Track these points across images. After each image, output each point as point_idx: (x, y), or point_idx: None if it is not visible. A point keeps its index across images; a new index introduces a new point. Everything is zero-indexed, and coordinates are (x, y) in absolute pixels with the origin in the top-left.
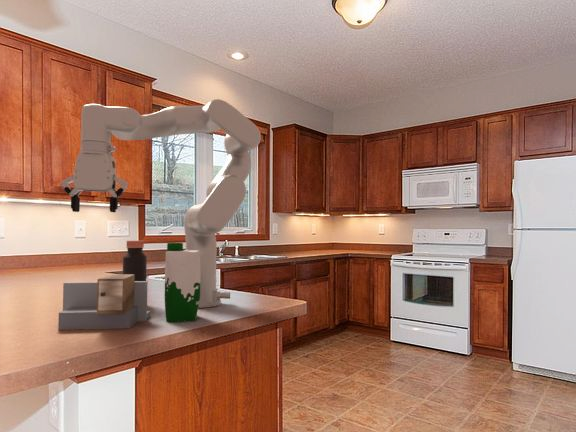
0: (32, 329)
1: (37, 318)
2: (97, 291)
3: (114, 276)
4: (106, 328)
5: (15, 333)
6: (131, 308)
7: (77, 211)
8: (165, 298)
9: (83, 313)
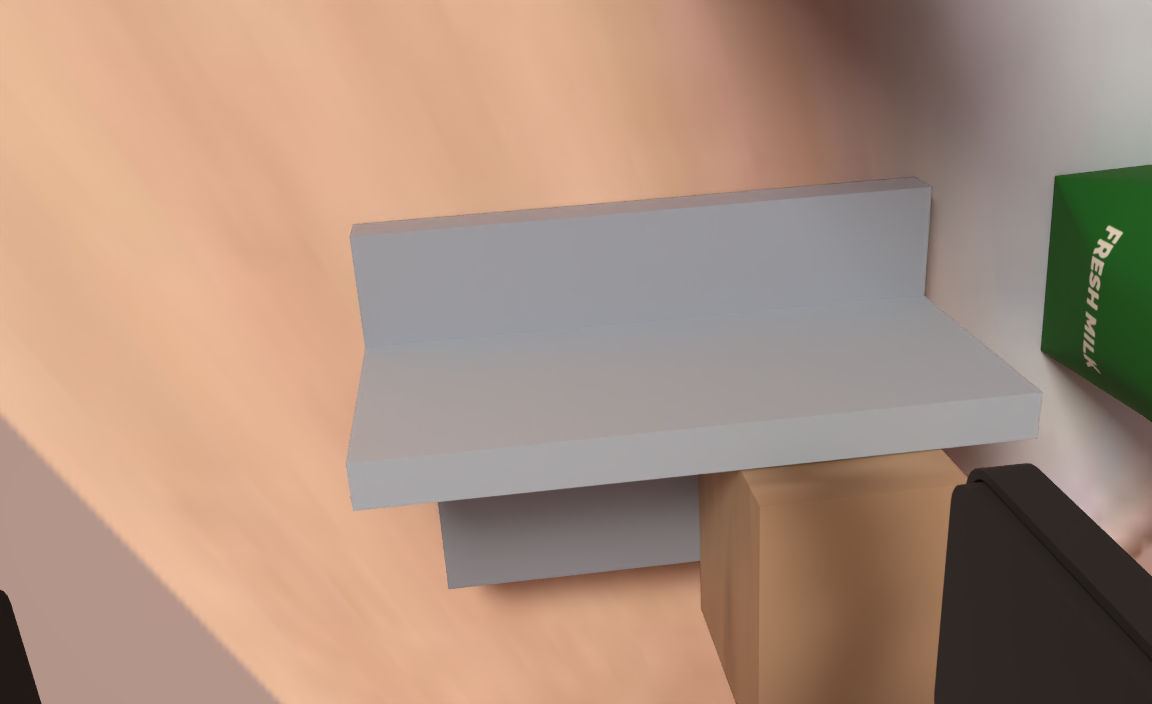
0: (278, 514)
1: (86, 223)
2: (735, 699)
3: (838, 624)
4: None
5: (240, 593)
6: None
7: (5, 655)
8: (1115, 384)
9: (599, 568)
